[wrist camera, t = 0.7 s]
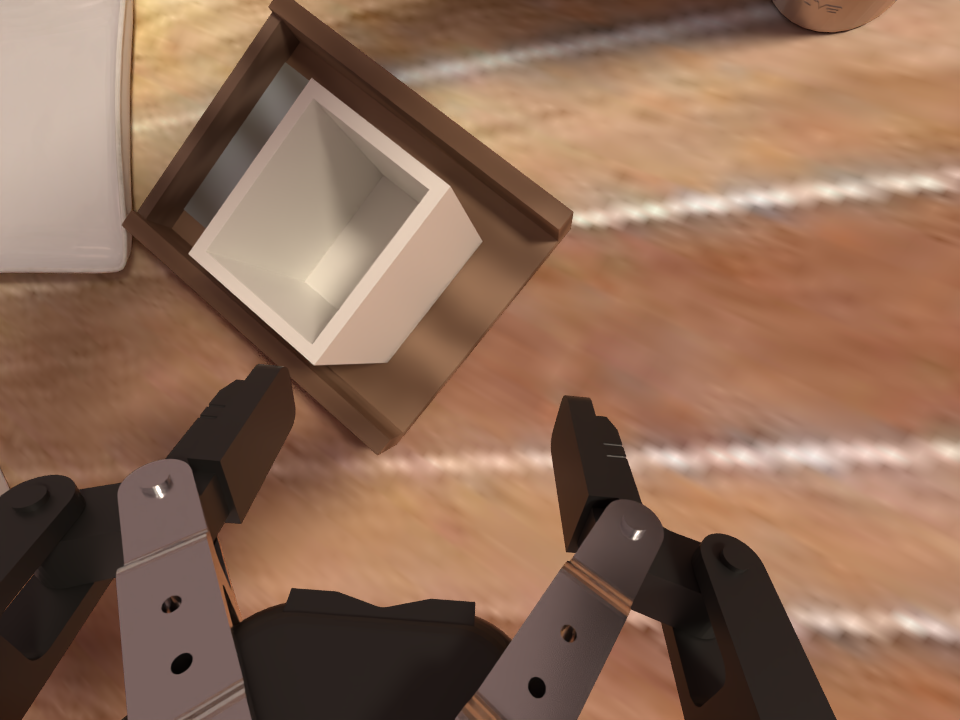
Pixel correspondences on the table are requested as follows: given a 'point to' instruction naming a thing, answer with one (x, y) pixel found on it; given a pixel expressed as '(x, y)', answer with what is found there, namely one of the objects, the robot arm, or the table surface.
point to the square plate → (65, 135)
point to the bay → (421, 133)
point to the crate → (337, 235)
